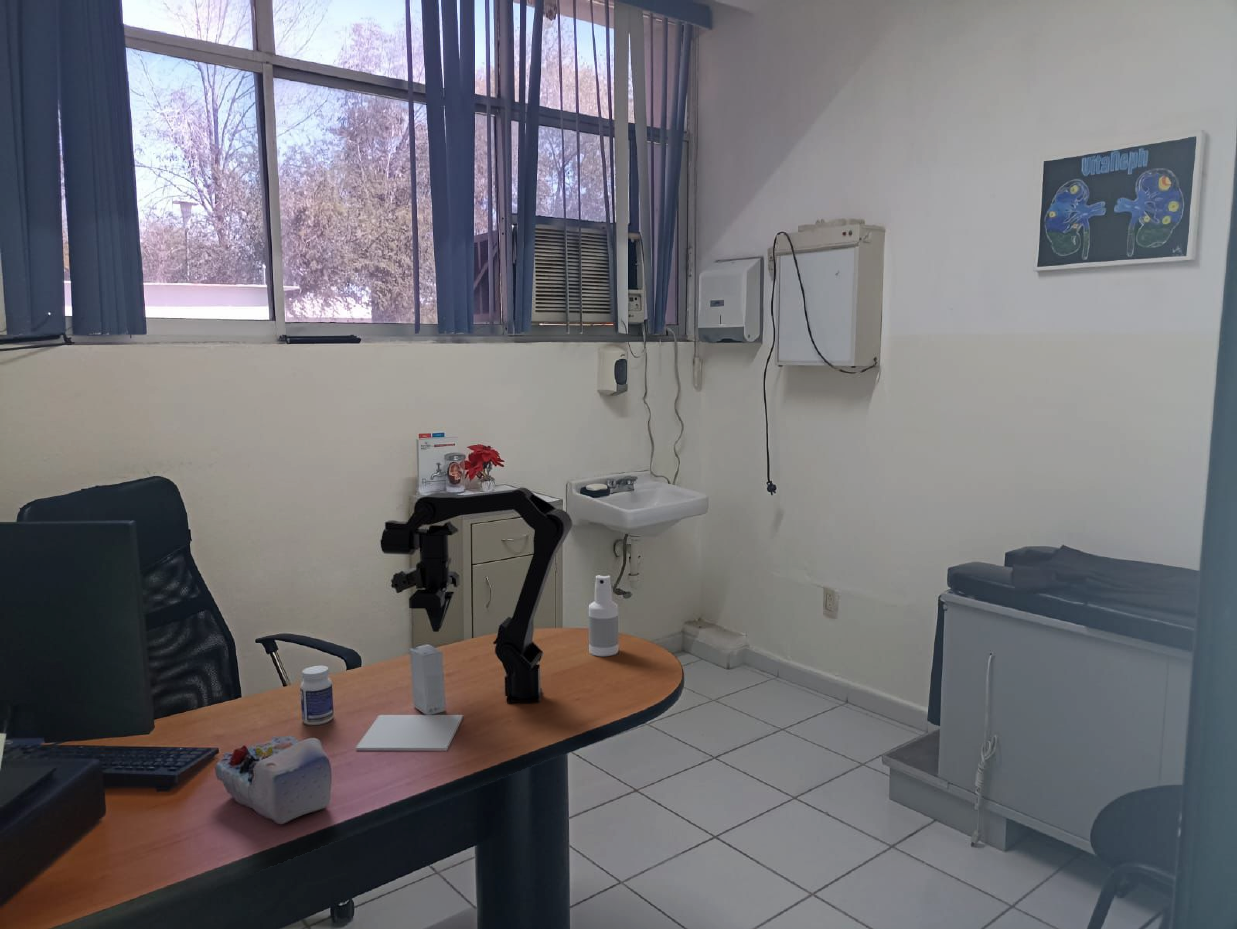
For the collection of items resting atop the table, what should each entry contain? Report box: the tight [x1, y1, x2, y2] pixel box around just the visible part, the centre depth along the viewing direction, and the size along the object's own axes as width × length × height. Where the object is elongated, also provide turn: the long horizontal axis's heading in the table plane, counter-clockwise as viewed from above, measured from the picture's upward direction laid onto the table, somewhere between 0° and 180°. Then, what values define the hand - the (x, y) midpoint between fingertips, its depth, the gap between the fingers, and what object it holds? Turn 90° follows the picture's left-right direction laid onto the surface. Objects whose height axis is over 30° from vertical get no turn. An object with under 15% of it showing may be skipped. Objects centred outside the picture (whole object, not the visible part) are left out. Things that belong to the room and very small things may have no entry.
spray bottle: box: [588, 574, 619, 657], centre depth 201 cm, size 7×7×18 cm
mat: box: [355, 714, 464, 752], centre depth 159 cm, size 16×14×1 cm
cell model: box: [214, 735, 333, 825], centre depth 135 cm, size 13×11×20 cm
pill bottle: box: [299, 665, 335, 726], centre depth 165 cm, size 6×6×10 cm
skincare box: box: [409, 643, 447, 715], centre depth 169 cm, size 6×4×12 cm
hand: (436, 630), depth 177 cm, fingers closed
